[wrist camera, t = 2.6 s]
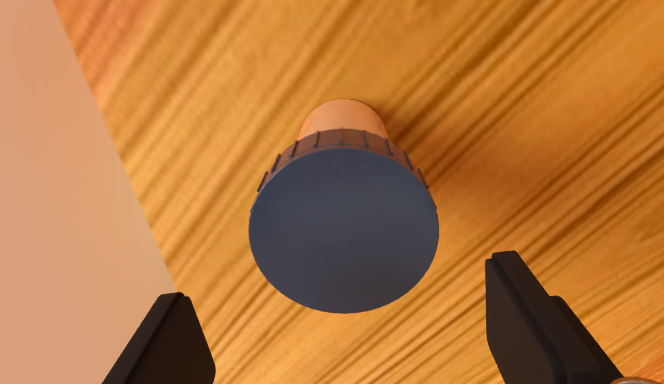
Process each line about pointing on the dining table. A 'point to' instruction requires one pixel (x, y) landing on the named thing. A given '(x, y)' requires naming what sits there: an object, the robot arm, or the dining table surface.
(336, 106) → the jar
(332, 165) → the cap
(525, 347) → the robot arm
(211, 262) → the dining table surface
